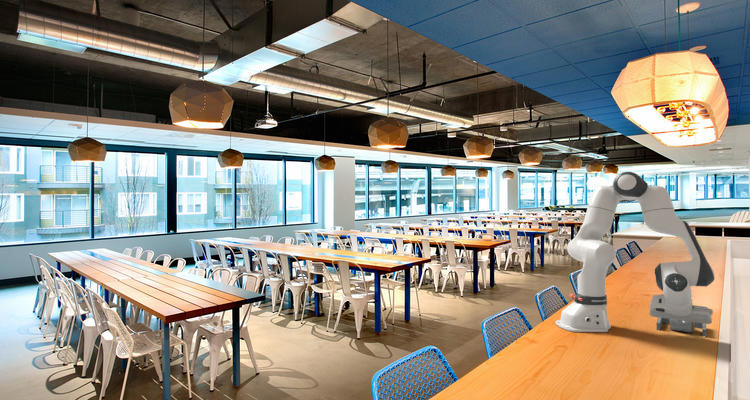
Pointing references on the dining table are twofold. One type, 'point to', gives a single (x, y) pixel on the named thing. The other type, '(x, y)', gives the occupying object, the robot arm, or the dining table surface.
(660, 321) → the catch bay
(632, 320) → the dining table surface
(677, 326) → the grey cylinder
